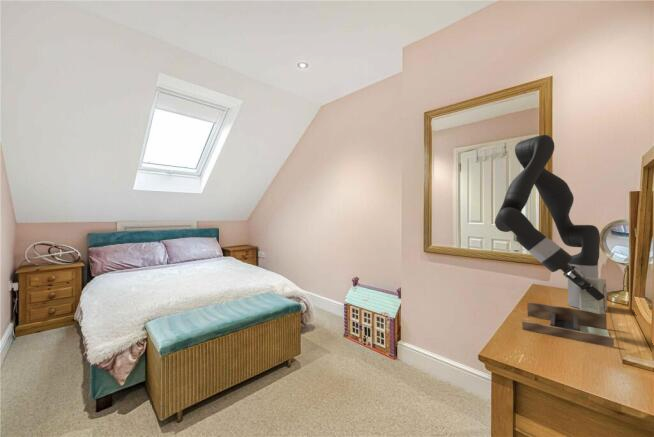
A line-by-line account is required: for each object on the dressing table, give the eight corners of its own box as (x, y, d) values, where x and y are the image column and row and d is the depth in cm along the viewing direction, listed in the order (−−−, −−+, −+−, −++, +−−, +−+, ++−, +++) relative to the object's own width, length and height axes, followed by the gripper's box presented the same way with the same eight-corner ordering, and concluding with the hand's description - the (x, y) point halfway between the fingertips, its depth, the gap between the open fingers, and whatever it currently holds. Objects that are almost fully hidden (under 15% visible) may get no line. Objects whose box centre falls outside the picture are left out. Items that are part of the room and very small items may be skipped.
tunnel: (522, 329, 89) (522, 313, 89) (527, 315, 102) (527, 301, 102) (613, 347, 75) (613, 329, 75) (606, 328, 88) (605, 313, 89)
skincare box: (608, 312, 83) (607, 279, 83) (599, 314, 81) (599, 280, 81) (586, 307, 87) (586, 276, 88) (578, 309, 86) (577, 277, 86)
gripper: (559, 248, 84) (616, 293, 76) (560, 245, 95) (610, 285, 87) (538, 264, 87) (590, 309, 79) (541, 259, 98) (587, 298, 90)
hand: (600, 296), depth 83 cm, fingers closed on skincare box, 6 cm apart
